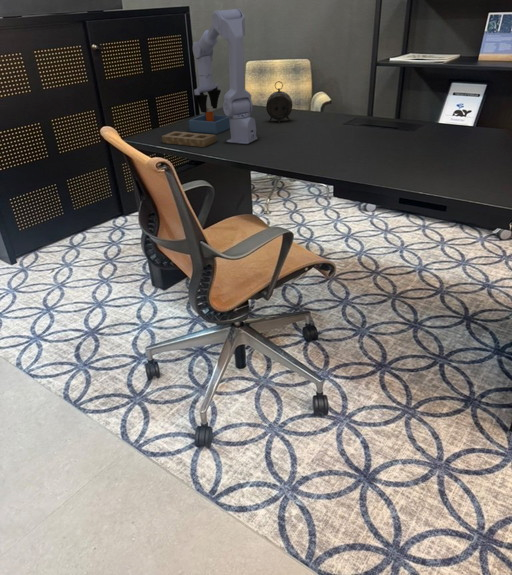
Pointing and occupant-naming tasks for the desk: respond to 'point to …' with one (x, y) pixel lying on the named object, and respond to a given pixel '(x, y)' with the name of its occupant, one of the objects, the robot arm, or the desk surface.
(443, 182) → the desk surface
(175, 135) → the pen rack
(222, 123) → the bin
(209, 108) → the pill bottle
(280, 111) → the alarm clock
